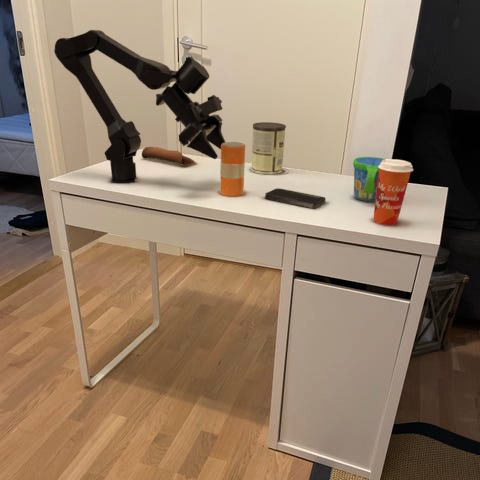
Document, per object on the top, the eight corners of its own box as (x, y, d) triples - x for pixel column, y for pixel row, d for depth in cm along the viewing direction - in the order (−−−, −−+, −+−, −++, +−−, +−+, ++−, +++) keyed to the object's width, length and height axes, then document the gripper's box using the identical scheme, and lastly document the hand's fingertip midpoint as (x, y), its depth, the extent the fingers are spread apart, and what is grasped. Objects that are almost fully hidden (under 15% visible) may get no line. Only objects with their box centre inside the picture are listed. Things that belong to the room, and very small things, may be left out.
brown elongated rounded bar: (198, 161, 163) (191, 145, 158) (187, 175, 161) (180, 159, 155) (157, 154, 172) (150, 138, 166) (146, 167, 169) (138, 151, 164)
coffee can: (253, 166, 163) (255, 121, 156) (283, 168, 162) (287, 123, 155) (248, 173, 155) (250, 126, 148) (280, 175, 153) (284, 128, 146)
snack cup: (383, 209, 127) (390, 169, 121) (343, 203, 130) (348, 164, 125) (390, 194, 139) (397, 157, 134) (353, 189, 142) (359, 153, 137)
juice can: (221, 196, 131) (222, 146, 125) (218, 190, 137) (219, 141, 130) (245, 196, 132) (247, 146, 126) (241, 189, 138) (243, 141, 131)
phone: (277, 187, 136) (327, 197, 129) (276, 192, 137) (326, 201, 130) (263, 194, 130) (315, 204, 124) (263, 198, 131) (314, 208, 124)
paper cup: (366, 223, 116) (377, 163, 109) (371, 214, 122) (381, 157, 115) (400, 228, 114) (413, 167, 107) (403, 219, 120) (415, 161, 113)
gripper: (189, 87, 115) (232, 140, 118) (215, 81, 131) (253, 128, 134) (160, 120, 121) (202, 169, 124) (189, 111, 137) (225, 155, 139)
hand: (222, 154), depth 130 cm, fingers open, 9 cm apart
